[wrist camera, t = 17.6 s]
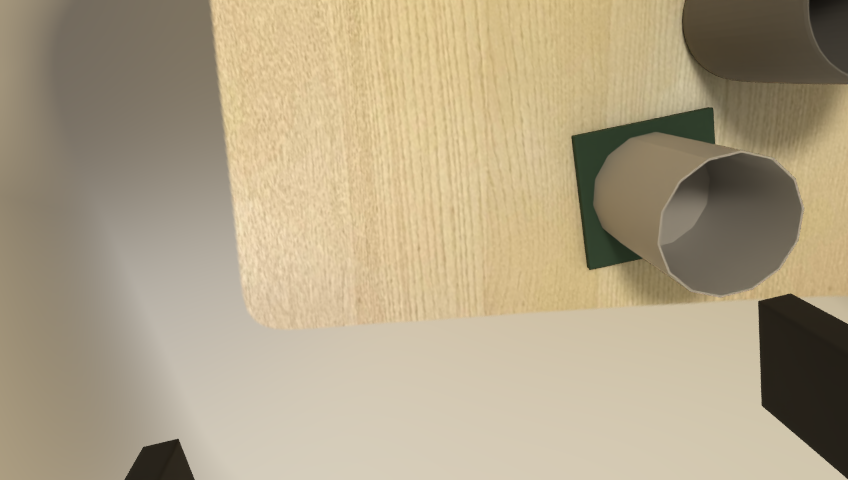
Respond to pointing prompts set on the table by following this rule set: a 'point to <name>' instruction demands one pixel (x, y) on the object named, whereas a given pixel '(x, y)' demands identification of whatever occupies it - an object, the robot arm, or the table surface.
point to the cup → (700, 211)
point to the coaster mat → (591, 158)
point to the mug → (770, 39)
